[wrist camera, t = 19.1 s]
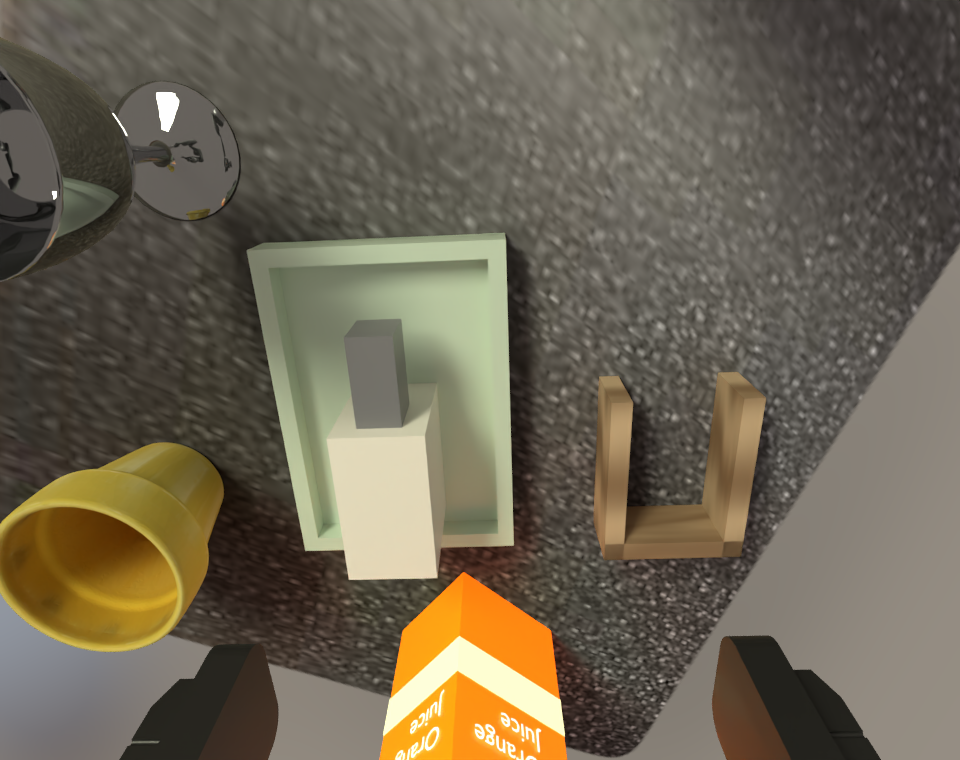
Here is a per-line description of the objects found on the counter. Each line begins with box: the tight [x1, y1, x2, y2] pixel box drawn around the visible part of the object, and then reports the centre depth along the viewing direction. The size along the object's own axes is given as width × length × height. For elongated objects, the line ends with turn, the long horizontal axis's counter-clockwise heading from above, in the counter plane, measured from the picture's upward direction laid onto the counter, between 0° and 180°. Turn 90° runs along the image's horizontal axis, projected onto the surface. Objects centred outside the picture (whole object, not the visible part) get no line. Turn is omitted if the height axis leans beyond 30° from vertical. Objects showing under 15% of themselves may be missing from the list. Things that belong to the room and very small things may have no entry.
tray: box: [247, 233, 514, 551], centre depth 36 cm, size 20×14×2 cm
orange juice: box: [380, 572, 567, 760], centre depth 35 cm, size 8×9×20 cm
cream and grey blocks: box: [326, 319, 446, 580], centre depth 33 cm, size 14×5×7 cm, turn 2°
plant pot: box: [0, 442, 224, 652], centre depth 35 cm, size 10×10×10 cm
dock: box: [594, 372, 766, 560], centre depth 36 cm, size 11×9×4 cm
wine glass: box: [0, 37, 240, 282], centre depth 24 cm, size 8×8×15 cm
